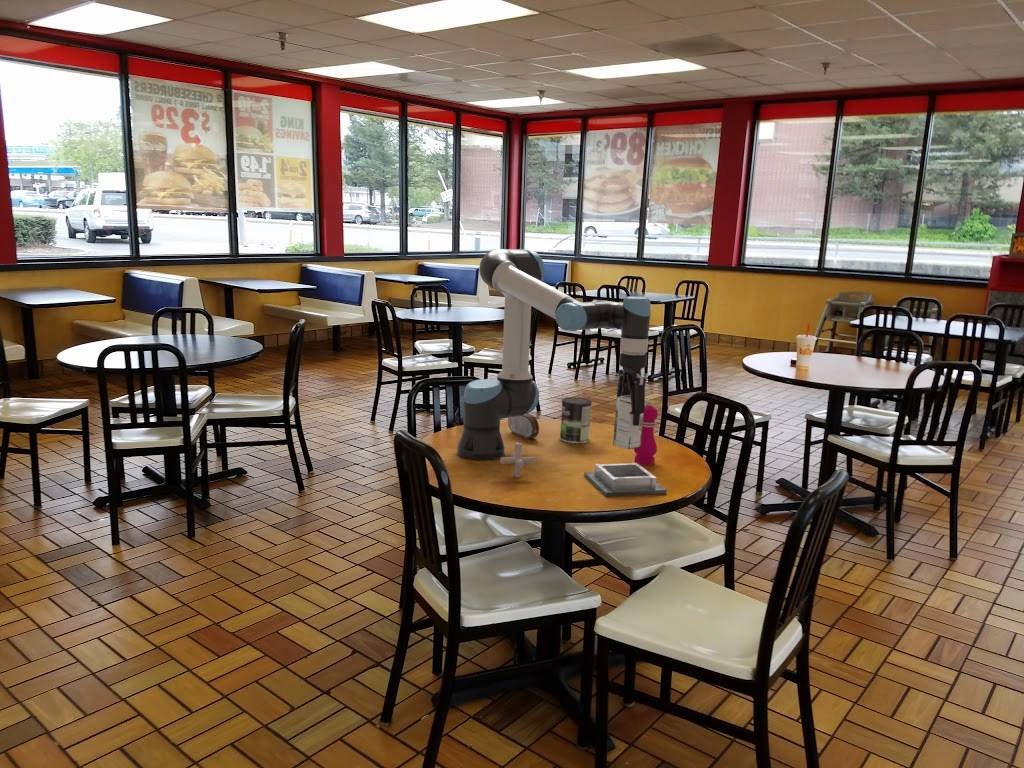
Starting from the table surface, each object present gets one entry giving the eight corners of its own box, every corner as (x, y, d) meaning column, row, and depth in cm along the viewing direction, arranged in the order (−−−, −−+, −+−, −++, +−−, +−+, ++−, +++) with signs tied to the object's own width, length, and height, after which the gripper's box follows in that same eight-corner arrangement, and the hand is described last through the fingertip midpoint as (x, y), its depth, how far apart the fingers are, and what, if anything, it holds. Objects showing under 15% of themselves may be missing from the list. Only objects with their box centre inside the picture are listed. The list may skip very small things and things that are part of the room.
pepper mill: (644, 467, 234) (649, 404, 231) (628, 460, 240) (632, 399, 236) (660, 463, 239) (665, 402, 235) (644, 457, 244) (648, 397, 240)
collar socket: (605, 496, 206) (606, 482, 205) (584, 476, 223) (585, 462, 222) (666, 493, 210) (667, 479, 210) (640, 473, 227) (641, 460, 227)
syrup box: (625, 442, 218) (628, 393, 216) (641, 447, 214) (645, 397, 212) (612, 445, 215) (615, 396, 212) (628, 450, 210) (632, 399, 208)
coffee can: (566, 444, 256) (568, 404, 253) (555, 436, 266) (557, 397, 263) (594, 443, 259) (596, 403, 257) (582, 435, 269) (584, 396, 266)
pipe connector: (503, 482, 214) (504, 448, 212) (497, 471, 224) (498, 439, 222) (537, 481, 216) (539, 448, 214) (530, 470, 226) (531, 438, 224)
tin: (539, 440, 260) (540, 416, 259) (532, 441, 258) (533, 417, 257) (513, 430, 272) (514, 407, 270) (506, 431, 270) (507, 408, 268)
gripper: (661, 358, 200) (655, 441, 205) (632, 347, 220) (626, 423, 224) (635, 358, 199) (629, 442, 203) (607, 347, 218) (602, 423, 222)
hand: (628, 432), depth 214 cm, fingers closed on syrup box, 7 cm apart
